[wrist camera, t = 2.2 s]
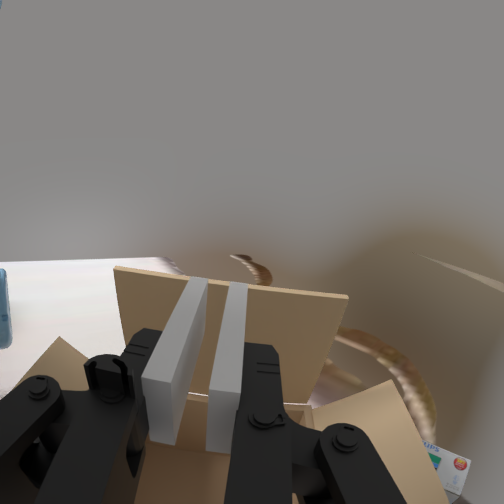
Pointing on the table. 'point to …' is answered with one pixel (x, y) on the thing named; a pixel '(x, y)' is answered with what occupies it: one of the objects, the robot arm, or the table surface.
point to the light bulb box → (449, 470)
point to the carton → (217, 464)
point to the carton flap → (256, 326)
